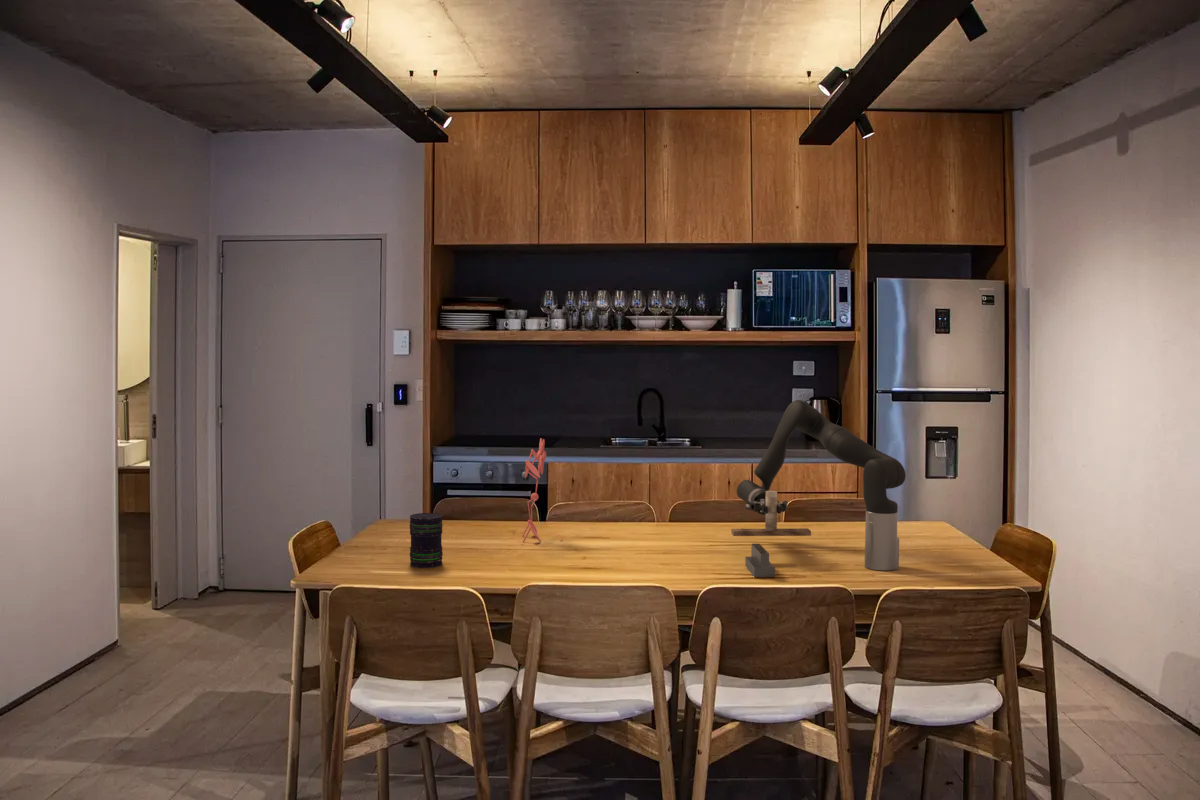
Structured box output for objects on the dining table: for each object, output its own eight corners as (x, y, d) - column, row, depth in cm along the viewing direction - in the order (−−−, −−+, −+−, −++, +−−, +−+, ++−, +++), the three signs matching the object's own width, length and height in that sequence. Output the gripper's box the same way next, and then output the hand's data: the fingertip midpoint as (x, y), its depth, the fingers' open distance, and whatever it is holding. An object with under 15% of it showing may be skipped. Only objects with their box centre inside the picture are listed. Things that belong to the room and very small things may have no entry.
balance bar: (807, 533, 289) (808, 490, 288) (810, 535, 285) (811, 492, 284) (731, 533, 288) (731, 490, 288) (733, 536, 284) (733, 492, 284)
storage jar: (414, 560, 285) (413, 512, 284) (445, 560, 285) (445, 513, 284) (406, 568, 275) (406, 518, 274) (438, 568, 275) (438, 519, 274)
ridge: (764, 566, 281) (765, 543, 280) (774, 577, 267) (775, 553, 266) (745, 566, 281) (745, 543, 280) (754, 577, 267) (754, 553, 266)
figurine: (520, 547, 304) (523, 441, 303) (519, 532, 330) (521, 434, 328) (567, 547, 306) (570, 442, 304) (561, 532, 332) (564, 435, 330)
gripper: (740, 489, 300) (750, 498, 283) (783, 489, 301) (796, 497, 283) (740, 512, 300) (750, 522, 283) (783, 512, 301) (796, 522, 284)
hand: (773, 510), depth 283 cm, fingers closed on balance bar, 3 cm apart
